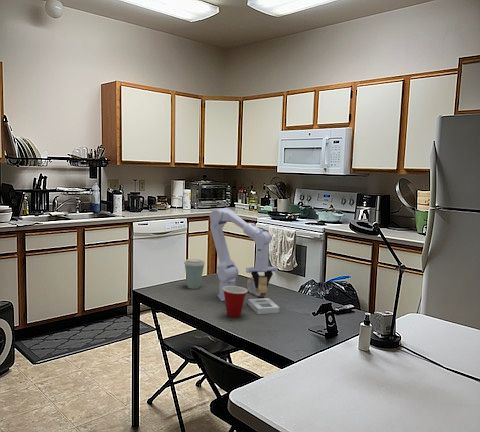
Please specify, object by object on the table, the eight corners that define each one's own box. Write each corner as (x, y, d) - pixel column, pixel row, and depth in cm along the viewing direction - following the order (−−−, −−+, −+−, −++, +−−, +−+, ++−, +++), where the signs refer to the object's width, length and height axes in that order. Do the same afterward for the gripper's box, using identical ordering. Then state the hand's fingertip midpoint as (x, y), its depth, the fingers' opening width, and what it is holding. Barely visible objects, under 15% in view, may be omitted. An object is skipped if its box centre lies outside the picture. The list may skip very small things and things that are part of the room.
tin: (266, 298, 215) (266, 281, 214) (260, 299, 213) (261, 282, 212) (250, 290, 228) (250, 275, 227) (245, 291, 226) (245, 275, 225)
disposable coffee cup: (184, 284, 236) (184, 257, 234) (204, 284, 237) (204, 257, 235) (183, 290, 225) (184, 261, 224) (204, 290, 227) (205, 261, 225)
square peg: (255, 290, 203) (256, 275, 202) (263, 290, 204) (264, 275, 204) (258, 292, 199) (258, 277, 199) (266, 292, 201) (267, 277, 200)
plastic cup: (249, 319, 185) (249, 291, 183) (223, 320, 183) (224, 292, 181) (244, 311, 195) (245, 284, 194) (220, 311, 193) (221, 285, 192)
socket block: (248, 304, 204) (248, 299, 204) (268, 303, 207) (268, 298, 207) (257, 314, 191) (258, 308, 191) (279, 312, 194) (279, 307, 194)
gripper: (249, 260, 194) (248, 290, 196) (280, 259, 198) (279, 288, 200) (245, 257, 201) (244, 286, 202) (274, 256, 205) (273, 284, 207)
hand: (261, 287), depth 202 cm, fingers closed on square peg, 4 cm apart
